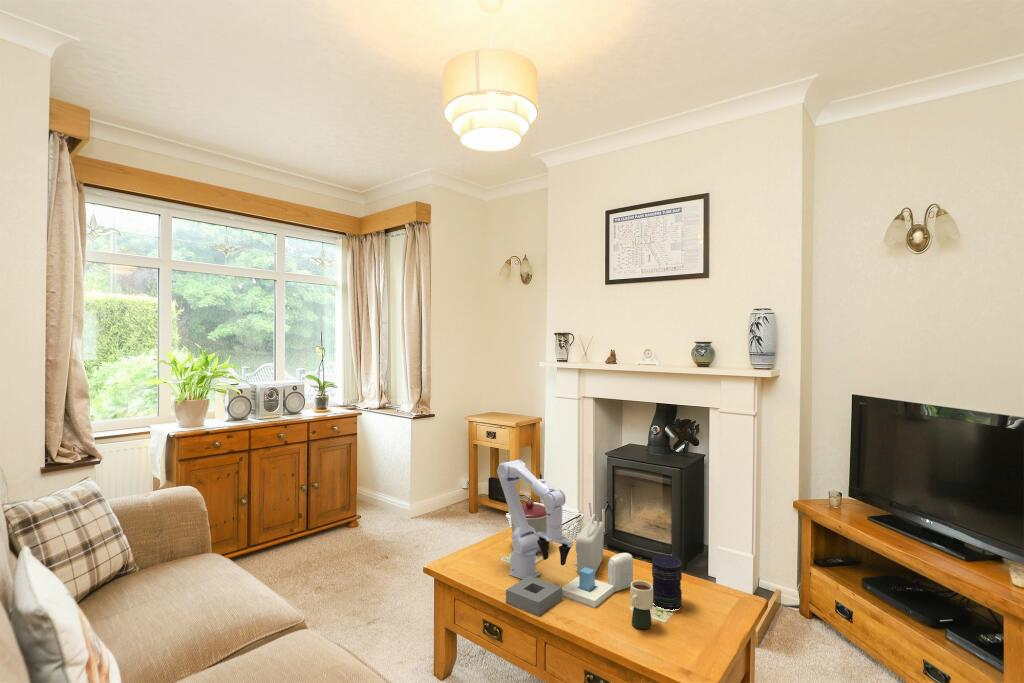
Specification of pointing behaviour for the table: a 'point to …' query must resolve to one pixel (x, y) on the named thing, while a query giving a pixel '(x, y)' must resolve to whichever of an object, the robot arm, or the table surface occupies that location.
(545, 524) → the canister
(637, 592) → the character mug
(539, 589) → the grey square socket block
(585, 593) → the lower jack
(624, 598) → the table surface
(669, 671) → the table surface
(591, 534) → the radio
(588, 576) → the plug
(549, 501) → the robot arm
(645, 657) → the table surface
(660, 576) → the storage jar
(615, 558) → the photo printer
